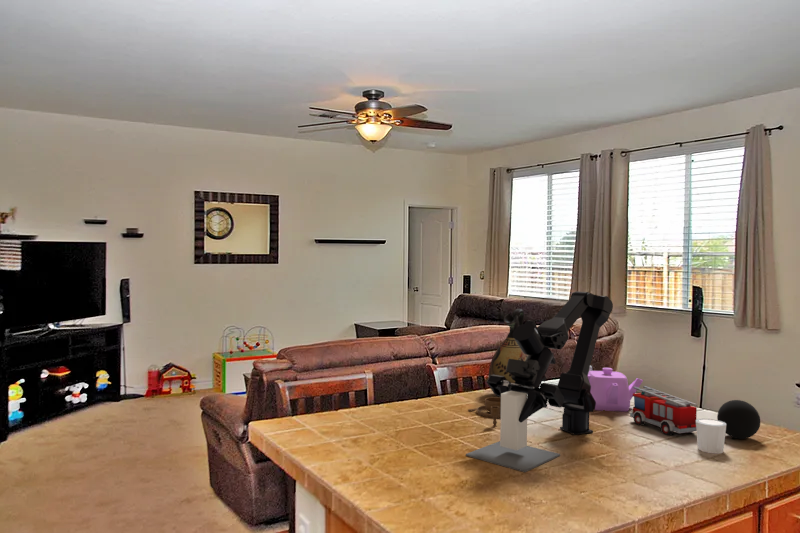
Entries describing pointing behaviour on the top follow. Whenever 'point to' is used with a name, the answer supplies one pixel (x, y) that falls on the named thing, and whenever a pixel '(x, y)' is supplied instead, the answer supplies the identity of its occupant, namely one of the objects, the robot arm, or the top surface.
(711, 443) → the white short cylinder
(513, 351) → the ceramic jug
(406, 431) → the top surface
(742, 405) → the decorative ball
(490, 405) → the place setting
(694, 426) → the toy fire truck
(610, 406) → the teakettle
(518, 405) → the off-white post
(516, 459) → the charcoal rubber mat
